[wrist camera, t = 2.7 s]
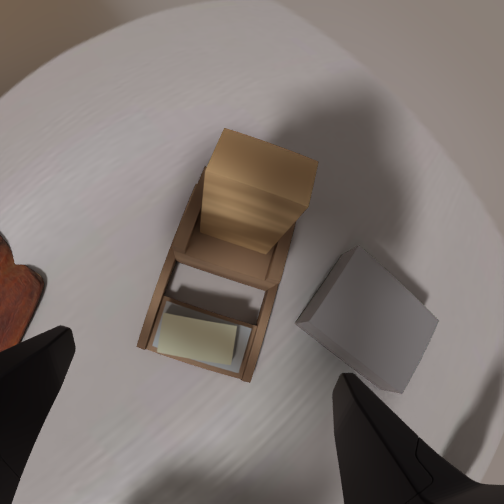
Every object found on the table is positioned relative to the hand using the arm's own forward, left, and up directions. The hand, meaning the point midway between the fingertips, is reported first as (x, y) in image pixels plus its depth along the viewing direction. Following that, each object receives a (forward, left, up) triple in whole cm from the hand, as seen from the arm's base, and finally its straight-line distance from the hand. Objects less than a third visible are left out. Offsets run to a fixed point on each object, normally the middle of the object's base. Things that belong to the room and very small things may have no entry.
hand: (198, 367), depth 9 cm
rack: (+5, -4, -13) cm, 14 cm away
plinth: (-4, -13, -13) cm, 18 cm away
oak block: (+6, -6, -10) cm, 13 cm away
